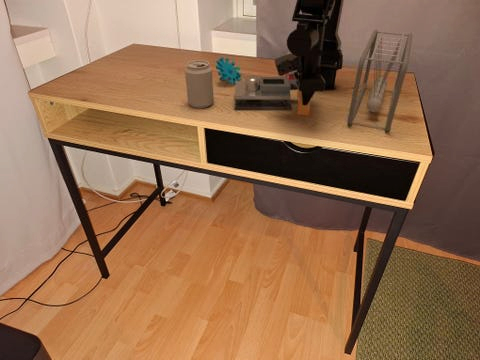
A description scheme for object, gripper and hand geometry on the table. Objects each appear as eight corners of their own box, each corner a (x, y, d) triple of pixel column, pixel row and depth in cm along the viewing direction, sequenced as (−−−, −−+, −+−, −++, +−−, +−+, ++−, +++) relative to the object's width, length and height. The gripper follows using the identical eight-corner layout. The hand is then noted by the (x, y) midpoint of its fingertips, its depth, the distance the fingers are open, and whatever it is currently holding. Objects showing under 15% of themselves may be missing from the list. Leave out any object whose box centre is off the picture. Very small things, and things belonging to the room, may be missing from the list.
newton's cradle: (362, 86, 115) (374, 27, 104) (397, 91, 111) (413, 31, 101) (346, 127, 92) (359, 58, 82) (388, 135, 89) (408, 64, 79)
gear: (228, 85, 111) (212, 57, 111) (217, 95, 115) (202, 68, 115) (249, 79, 119) (234, 53, 119) (238, 89, 123) (224, 64, 123)
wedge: (309, 111, 100) (313, 80, 94) (310, 115, 98) (314, 83, 93) (295, 111, 100) (298, 80, 94) (296, 115, 98) (299, 83, 93)
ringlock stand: (305, 93, 110) (308, 70, 106) (311, 110, 100) (314, 86, 96) (236, 92, 110) (235, 70, 106) (234, 109, 101) (234, 86, 97)
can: (203, 111, 100) (200, 69, 93) (182, 105, 103) (178, 64, 96) (218, 102, 105) (217, 61, 98) (198, 96, 108) (195, 56, 101)
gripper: (275, 34, 95) (272, 89, 105) (280, 56, 80) (276, 118, 90) (317, 34, 95) (310, 89, 104) (330, 56, 80) (321, 119, 89)
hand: (304, 103), depth 97 cm, fingers closed on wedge, 2 cm apart
